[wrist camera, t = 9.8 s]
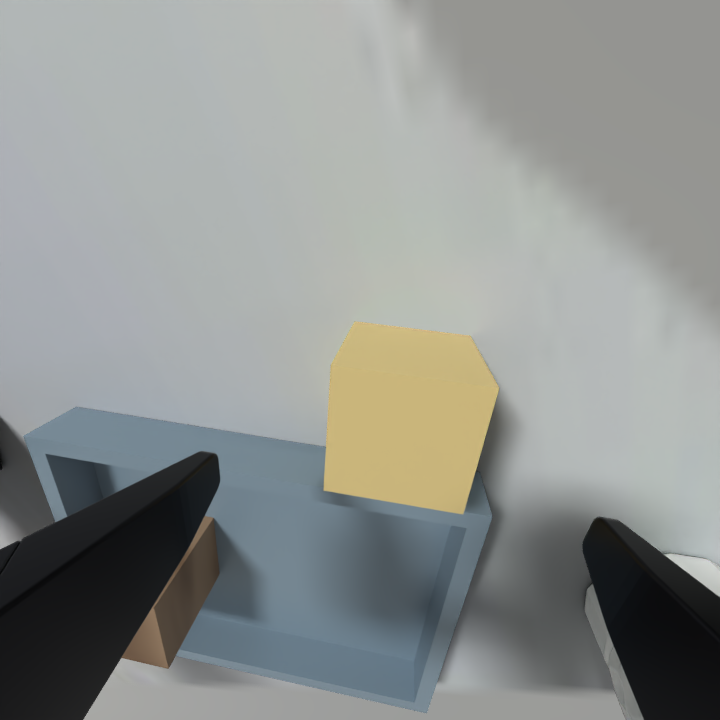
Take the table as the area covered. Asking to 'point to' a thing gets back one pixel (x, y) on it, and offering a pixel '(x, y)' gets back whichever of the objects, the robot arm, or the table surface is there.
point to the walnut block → (178, 602)
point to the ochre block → (407, 416)
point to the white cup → (699, 568)
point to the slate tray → (291, 555)
